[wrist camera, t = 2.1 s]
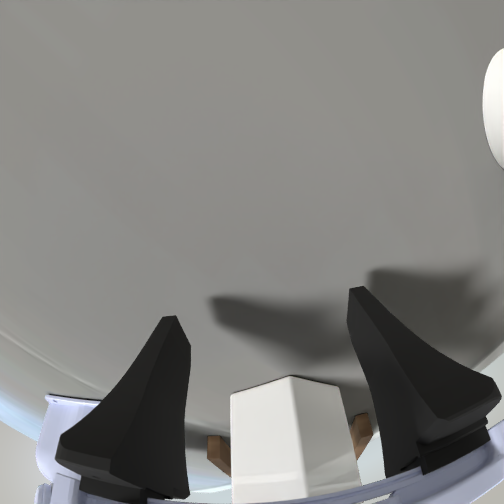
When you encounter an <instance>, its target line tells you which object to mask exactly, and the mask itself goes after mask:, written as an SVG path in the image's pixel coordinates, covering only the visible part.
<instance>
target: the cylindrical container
mask: <svg viewBox="0 0 504 504" xmlns="http://www.w3.org/2000/svg"><path fill="white" fill-rule="evenodd" d="M483 119H484V126H485V132H486V137H487V140H488V144H489V147H490V149H491V152H492V154H493V156H494V158H495V159H496V161H497V163H498V164H499V165H500V166H501V167H502V168H503V169H504V48H503V49H501V50H500V51H498V52H497V53H496V54H495V55H494V57H493V58H492V60H491V62H490V64H489V66H488V69H487V72H486V76H485V80H484V88H483Z"/></svg>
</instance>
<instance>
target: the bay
mask: <svg viewBox="0 0 504 504" xmlns="http://www.w3.org/2000/svg"><path fill="white" fill-rule="evenodd" d="M350 434H351V439H352V443H353V447H354V452H355V456H356V461H357V460H358V458H359V457H360V455H361V454H362V452H363V451H364V449H365V447H366V446H367V444H368V443H369V441H370V439H371V438H372V436H373V431H372V428H371V424H370V421H369V417H368V414H367V413H365V414H361V415H357V416H355V419H354V421H353V424H352V427H351V430H350ZM207 459H208V460H209V461H211V462H212V463H213V464H214V465H215V466H217V467H218V468H219V469H221V470H222V471H223V472H224V473H226V474H227V475H228V476H230V477H231V449H230V448H229V446H228V445H227V444H226V443H225V442H224V440H223V439H222V438H221V437H220V436H208V442H207Z"/></svg>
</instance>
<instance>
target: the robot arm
mask: <svg viewBox="0 0 504 504" xmlns="http://www.w3.org/2000/svg"><path fill="white" fill-rule="evenodd" d="M347 325H348V329H349V333H350V337H351V340H352V344H353V346H354V349H355V351H356V354H357V356H358V359H359V362H360V364H361V367H362V369H363V372H364V374H365V377H366V380H367V382H368V385H369V388H370V391H371V394H372V398H373V402H374V407H375V411H376V416H377V421H378V426H379V431H380V437H381V443H382V450H383V459H384V468H385V476H386V479H383V480H380V481H377V482H374V483H370V484H367V485H363V486H359V487H355V488H352V489H347V490H343V491H339V492H334V493H329V494H324V495H319V496H313V497H307V498H301V499H293V500H285V501H276V502H264V503H246V504H355V503H359V502H363V501H366V500H370V499H373V498H377V497H380V496H383V495H386V494H389V493H391V494H390V496H389V498H388V499H385V500H382V501H379V502H376V503H373V504H470V503H472V502H473V501H475V500H476V499H477V498H479V497H480V496H482V495H484V494H485V493H486V492H488V491H489V490H490V489H492V488H493V487H495V486H496V485H497V484H499V483H500V482H501V481H503V480H504V419H503V420H502V421H500V422H499V423H497V424H496V425H494V426H493V427H491V428H490V429H488V430H487V429H486V426H485V425H486V424H488V420H487V418H486V415H487V414H488V413H489V412H490V411H491V410H492V409H493V408H494V407H495V406H496V405H497V404H498V403H499V402H500V400H501V397H502V396H501V394H500V391H499V389H498V387H497V385H496V383H495V382H494V380H493V379H492V378H491V377H488V376H486V375H483V374H481V373H478V372H476V371H473V370H471V369H469V368H467V367H465V366H463V365H461V364H459V363H457V362H455V361H454V360H452V359H450V358H449V357H447V356H445V355H444V354H442V353H440V352H439V351H437V350H436V349H434V348H433V347H431V346H430V345H428V344H427V343H426V342H424V341H423V340H421V339H420V338H419V337H418V336H416V335H415V334H414V333H413V332H412V331H410V330H409V329H408V328H407V327H406V326H404V325H403V324H402V323H401V322H400V321H399V320H398V319H397V318H396V317H395V316H394V315H392V314H391V313H390V312H389V311H388V310H387V309H386V308H385V307H384V306H383V305H382V304H381V303H380V302H379V301H378V300H377V299H376V298H375V297H374V296H373V295H372V294H371V293H370V292H369V291H368V290H367V289H366V288H365V287H364V286H360V287H355V288H350V289H349V301H348V313H347ZM190 368H191V345H190V343H189V341H188V339H187V337H186V335H185V333H184V331H183V329H182V327H181V325H180V323H179V321H178V319H177V317H176V315H175V316H166V317H162V319H161V320H160V322H159V323H158V325H157V326H156V328H155V330H154V331H153V333H152V334H151V336H150V338H149V339H148V341H147V342H146V344H145V346H144V347H143V349H142V350H141V352H140V353H139V355H138V356H137V358H136V359H135V361H134V362H133V364H132V365H131V366H130V368H129V369H128V371H127V372H126V373H125V375H124V376H123V377H122V379H121V380H120V381H119V382H118V384H117V385H116V386H115V387H114V388H113V389H112V391H111V392H110V393H109V394H108V395H107V396H106V397H105V398H104V399H103V400H102V401H90V400H81V399H73V398H66V397H59V396H52V395H46V396H45V399H46V400H47V401H48V402H49V406H48V409H47V412H46V415H45V418H44V422H43V425H42V428H41V432H40V435H39V439H38V442H37V446H36V461H37V465H38V468H39V470H40V471H41V473H42V474H43V475H44V476H45V477H46V478H47V479H48V480H49V481H51V482H53V483H50V485H48V484H46V483H44V484H43V485H40V486H38V488H37V491H36V495H35V500H34V504H207V503H189V502H177V501H167V500H165V499H173V498H175V499H186V498H187V497H188V496H189V495H190V491H189V484H188V477H187V468H186V457H185V435H184V418H185V407H186V399H187V391H188V383H189V376H190ZM392 492H393V493H392Z"/></svg>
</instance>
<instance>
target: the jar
mask: <svg viewBox="0 0 504 504" xmlns="http://www.w3.org/2000/svg"><path fill="white" fill-rule="evenodd" d="M230 428H231V482H232V504H246V503H264V502H276V501H285V500H293V499H301V498H307V497H313V496H319V495H324V494H329V493H334V492H339V491H343V490H347V489H352V488H355V487H359V486H362V484H361V479H360V475H359V470H358V466H357V461H356V456H355V452H354V447H353V443H352V439H351V434H350V430H349V426H348V422H347V418H346V414H345V410H344V406H343V402H342V398H341V394H340V390H339V387H337V386H333V385H328V384H324V383H319V382H314V381H310V380H306V379H301V378H297V377H293V376H287V377H284V378H281V379H279V380H276V381H273V382H270V383H266V384H263V385H260V386H257V387H254V388H250V389H247V390H244V391H240V392H236V393H233V394H231V396H230ZM363 502H364V501H363ZM363 502H359V503H355V504H361V503H363Z"/></svg>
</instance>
